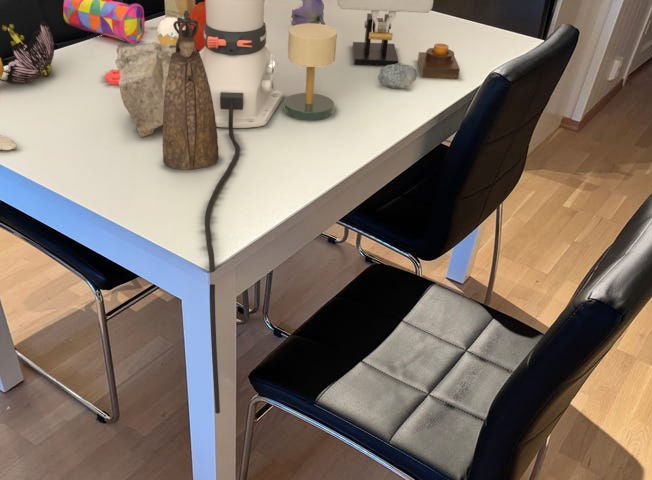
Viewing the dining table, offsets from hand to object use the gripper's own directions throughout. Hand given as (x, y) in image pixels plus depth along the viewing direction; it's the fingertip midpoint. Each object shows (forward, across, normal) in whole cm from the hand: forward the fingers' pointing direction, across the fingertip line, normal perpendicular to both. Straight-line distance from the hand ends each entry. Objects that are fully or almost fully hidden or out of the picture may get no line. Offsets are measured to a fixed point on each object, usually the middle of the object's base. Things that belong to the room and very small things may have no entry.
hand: (381, 31), depth 149 cm
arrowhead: (+6, -77, -45) cm, 89 cm away
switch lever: (+2, 0, +4) cm, 5 cm away
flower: (+9, -15, +26) cm, 32 cm away
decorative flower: (+2, -72, -22) cm, 75 cm away
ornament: (+8, -48, +5) cm, 49 cm away
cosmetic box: (+9, -46, +14) cm, 49 cm away
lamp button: (+5, +14, +1) cm, 15 cm away
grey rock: (+8, +4, -11) cm, 14 cm away
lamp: (+8, -15, -24) cm, 30 cm away
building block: (+7, -54, -16) cm, 57 cm away
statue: (+8, -35, -49) cm, 61 cm away
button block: (+8, +14, +1) cm, 16 cm away
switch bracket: (+8, 0, +8) cm, 12 cm away
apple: (+8, -38, +8) cm, 40 cm away
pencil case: (+2, -68, +13) cm, 69 cm away
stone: (+1, -49, -27) cm, 56 cm away
